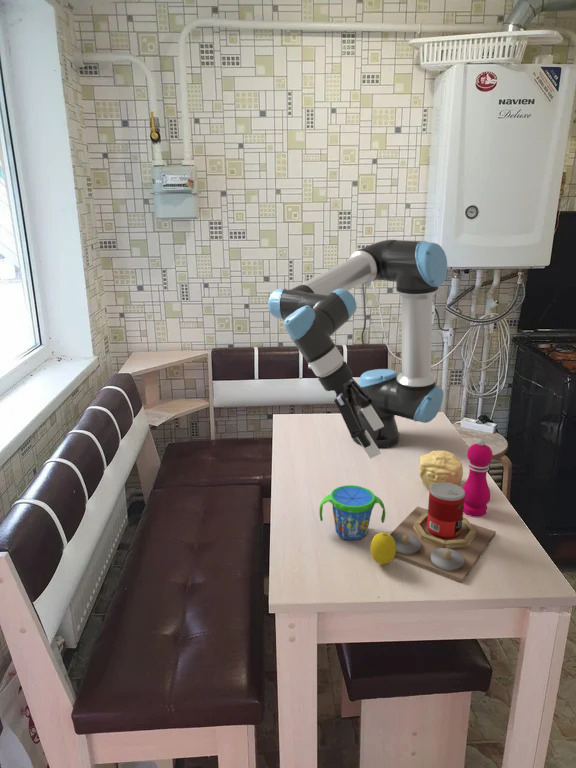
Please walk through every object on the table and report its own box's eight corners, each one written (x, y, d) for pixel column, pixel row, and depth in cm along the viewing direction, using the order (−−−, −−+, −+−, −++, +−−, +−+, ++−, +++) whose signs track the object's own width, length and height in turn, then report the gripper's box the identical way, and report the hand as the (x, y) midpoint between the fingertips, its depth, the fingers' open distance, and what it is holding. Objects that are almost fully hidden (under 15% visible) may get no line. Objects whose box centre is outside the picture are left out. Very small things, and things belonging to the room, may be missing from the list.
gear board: (417, 509, 152) (418, 497, 151) (495, 535, 141) (496, 522, 140) (377, 550, 135) (377, 537, 134) (462, 583, 124) (463, 568, 123)
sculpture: (414, 492, 161) (416, 456, 157) (424, 473, 171) (426, 439, 168) (457, 501, 156) (460, 464, 153) (464, 481, 167) (468, 446, 163)
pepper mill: (453, 509, 152) (460, 438, 146) (469, 500, 156) (476, 430, 150) (478, 521, 147) (486, 447, 140) (494, 511, 151) (502, 439, 145)
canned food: (462, 541, 137) (466, 499, 133) (426, 538, 138) (430, 496, 135) (459, 524, 144) (463, 483, 140) (426, 520, 145) (429, 480, 142)
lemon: (399, 563, 131) (401, 532, 128) (386, 575, 127) (387, 543, 124) (378, 553, 134) (380, 522, 132) (364, 564, 130) (366, 533, 128)
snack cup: (384, 523, 146) (386, 486, 143) (384, 548, 136) (386, 509, 133) (321, 518, 148) (321, 482, 145) (316, 542, 139) (317, 504, 135)
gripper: (324, 357, 149) (367, 424, 154) (308, 398, 127) (359, 474, 132) (350, 343, 146) (393, 411, 151) (338, 382, 124) (388, 461, 129)
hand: (377, 441), depth 141 cm, fingers open, 13 cm apart
